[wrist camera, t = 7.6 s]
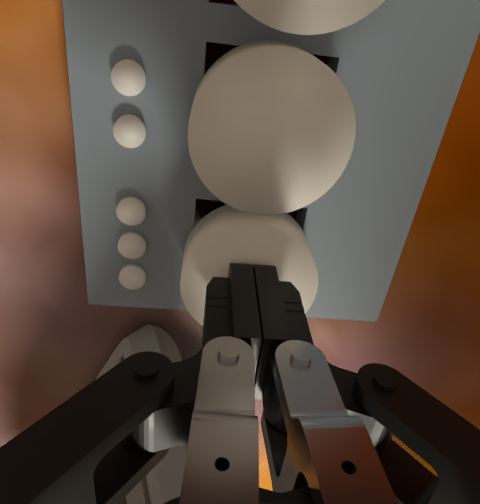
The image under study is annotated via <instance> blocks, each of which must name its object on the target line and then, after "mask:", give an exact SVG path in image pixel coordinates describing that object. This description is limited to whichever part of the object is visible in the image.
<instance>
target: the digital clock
mask: <svg viewBox="0 0 480 504" xmlns="http://www.w3.org/2000/svg"><path fill="white" fill-rule="evenodd" d="M145 351H151V352H157V353H160V354H163V355H165V356H166V357H168V358H169V359H170V360H171V361H172V363H174V362H178V361H182V358H181V355H180V352H179V350H178V348H177V346H176V344H175V342H174V341H173V339H172V338H171V336H170V335H169V334H168V333H167V332H166V331H165V330H163V329H162V328H160V327H158V326H156V325H150V324H148V325H145V326H143V327H142V328H140V329H138V330H136V331H135V332H133V333H132V334H130V335H128V336H127V337H125V338H124V339H123V340H122V341H121V342H120V343H119V345H118V346H117V347H116V349H115V350H114V352H113V353H112V355H111V356H110V358H109V359H108V361H107V362H106V364H105V365H104V367H103V368H102V370H101V372H100V373H99V375H98V376H97V378H96V379H98V378H99V377H100V376H102V375H103V374H105V373H106V372H107V371H109V370H110V369H112V368H113V367H114V366H116V365H117V364H119V363H120V362H122V361H123V360H124V359H126V358H127V357H129V356H131V355H133V354H135V353H139V352H145ZM96 379H95V380H96ZM187 446H188V443H185V444H181V445H178V446H175V447H171V448H170V450H169V452H168V453H167V455H166V456H165V457H164V458H163V459H162V460H161V461H160V462H159V463H158V464H157V465H156V466H155V467H154V468H153V469H152V470H151V471H150V472H149V473H148V474H147V475H146V476H145V477H144V478H143V479H142V480H141V481H140V482H139V483H138V484H137V485H136V486H135V487H134V488H133V489H132V490H131V491H130V492H129V493H128V494H127V495H126V496H125V497H124V498H123V500H122V501H121V502H120V503H119V504H163V503H165V502H167V501H169V500H171V499H174V498H176V497H179V496H180V494H181V487H182V480H183V473H184V467H185V460H186V453H187Z"/></svg>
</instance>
